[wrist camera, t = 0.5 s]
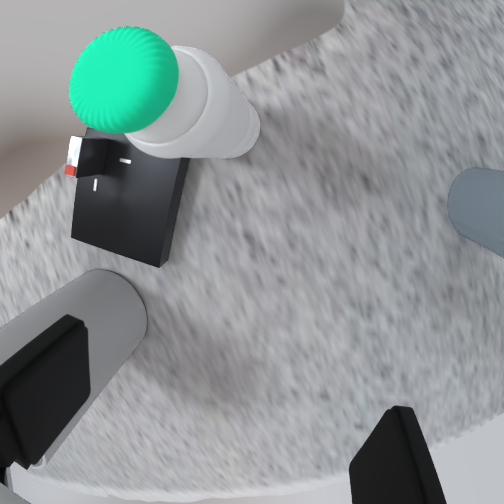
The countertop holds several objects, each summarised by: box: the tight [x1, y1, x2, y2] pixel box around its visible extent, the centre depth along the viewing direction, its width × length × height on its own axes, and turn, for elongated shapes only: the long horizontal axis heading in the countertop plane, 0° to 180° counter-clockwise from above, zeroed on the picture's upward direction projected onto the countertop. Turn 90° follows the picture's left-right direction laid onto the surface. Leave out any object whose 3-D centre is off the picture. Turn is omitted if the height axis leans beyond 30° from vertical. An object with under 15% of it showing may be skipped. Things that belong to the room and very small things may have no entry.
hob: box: [71, 128, 190, 268], centre depth 36 cm, size 15×14×3 cm
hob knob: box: [64, 136, 110, 178], centre depth 31 cm, size 4×2×6 cm, turn 165°
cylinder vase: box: [0, 270, 147, 469], centre depth 30 cm, size 12×12×25 cm
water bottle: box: [68, 26, 260, 159], centre depth 22 cm, size 7×7×25 cm
